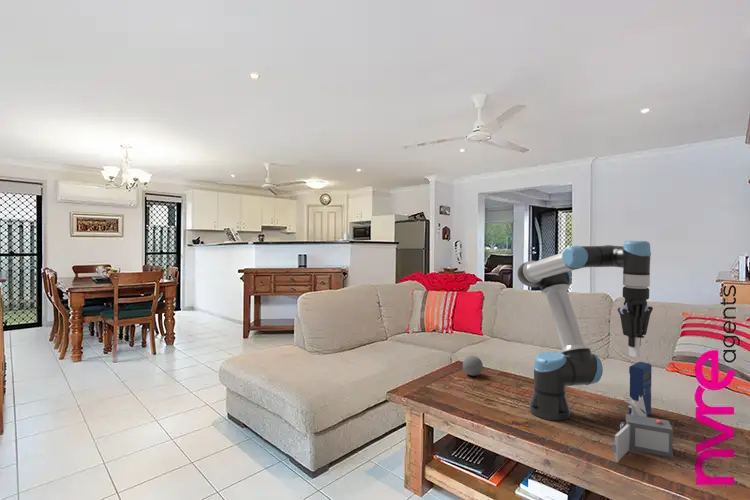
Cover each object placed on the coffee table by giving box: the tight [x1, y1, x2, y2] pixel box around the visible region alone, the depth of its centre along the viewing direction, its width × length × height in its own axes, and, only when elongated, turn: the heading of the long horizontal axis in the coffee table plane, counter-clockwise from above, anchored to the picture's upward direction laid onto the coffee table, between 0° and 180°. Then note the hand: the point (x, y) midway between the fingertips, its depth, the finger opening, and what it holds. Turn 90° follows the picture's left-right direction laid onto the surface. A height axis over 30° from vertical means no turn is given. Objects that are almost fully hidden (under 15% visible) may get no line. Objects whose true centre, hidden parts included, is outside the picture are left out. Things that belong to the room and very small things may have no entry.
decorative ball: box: [462, 355, 484, 377], centre depth 203 cm, size 10×10×10 cm
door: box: [611, 424, 631, 462], centre depth 127 cm, size 12×2×8 cm, turn 131°
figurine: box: [623, 394, 648, 417], centre depth 148 cm, size 11×8×12 cm
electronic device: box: [628, 361, 652, 417], centre depth 156 cm, size 10×5×20 cm, turn 127°
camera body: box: [619, 413, 674, 458], centre depth 132 cm, size 14×7×10 cm, turn 63°
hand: (634, 356), depth 134 cm, fingers closed
